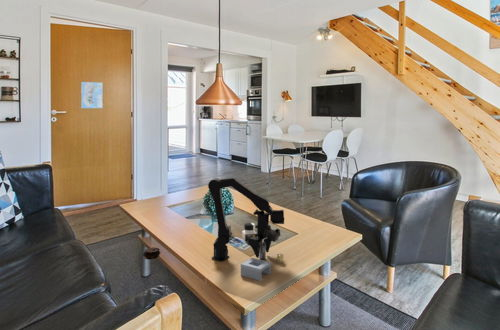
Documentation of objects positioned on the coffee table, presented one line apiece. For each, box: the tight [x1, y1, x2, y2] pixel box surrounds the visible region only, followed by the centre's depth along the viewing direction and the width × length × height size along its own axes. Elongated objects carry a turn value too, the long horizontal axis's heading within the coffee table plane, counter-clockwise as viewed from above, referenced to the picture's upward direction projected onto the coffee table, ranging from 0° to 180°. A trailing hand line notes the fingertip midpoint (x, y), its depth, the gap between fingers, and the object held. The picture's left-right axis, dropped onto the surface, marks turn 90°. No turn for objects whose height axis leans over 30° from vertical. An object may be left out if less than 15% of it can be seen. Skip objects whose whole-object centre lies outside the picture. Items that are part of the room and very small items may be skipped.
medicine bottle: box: [241, 222, 258, 242], centre depth 173 cm, size 7×7×12 cm
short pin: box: [276, 253, 284, 264], centre depth 145 cm, size 3×3×4 cm
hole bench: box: [240, 257, 272, 282], centre depth 133 cm, size 10×9×5 cm
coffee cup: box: [142, 247, 161, 260], centre depth 153 cm, size 9×8×13 cm
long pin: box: [258, 241, 267, 261], centre depth 148 cm, size 3×3×9 cm
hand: (262, 254), depth 148 cm, fingers open, 9 cm apart
